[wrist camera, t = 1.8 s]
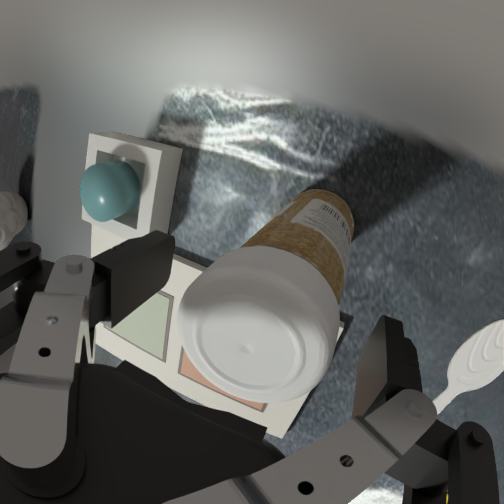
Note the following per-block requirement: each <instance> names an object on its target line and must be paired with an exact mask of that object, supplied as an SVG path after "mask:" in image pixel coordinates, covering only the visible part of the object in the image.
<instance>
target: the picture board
mask: <svg viewBox="0 0 504 504" xmlns="http://www.w3.org/2000/svg"><path fill="white" fill-rule="evenodd" d="M124 241H126V239H124V238H122V237H119V236H117V235H115V234H113V233H111V232H109V231H106V230H104V229H102V228H100V227H98V226H96V225H93V224H92V238H91V258H92V257H94V256H96V255H98V254H100V253H102V252H104V251H106V250H108V249H110V248H111V249H112V247H114V246H116V245H120V243H122V242H124ZM206 269H207V267H204V266H202V265H200V264H197V263H195V262H193V261H190V260H188V259H185V258H183V257H181V256H178V255H176V254H173V261H172V268H171V274H170V278H169V280H168V282H167V284H166V285H165V286H164V287H163V288H162V289H161V290H160V291H158V292H157V293H156V294H155V295H153V296H152V297H151V298H149V299H148V300H147V301H146V302H144V303H143V304H142V305H141V306H139V307H138V308H137V309H136V310H134V311H133V312H132V313H131V314H129V315H128V316H127V317H126V318H124V319H123V320H122V321H121V322H119V323H118V324H117V325H116V326H114V327H113V328H112V329H111V328H109V327H107V326H106V325H104V324H102V323H101V322H99V323H98V324H97V325H96V341H95V343H96V344H98V345H99V346H101V347H102V348H104V349H105V350H107V351H109V352H110V353H112V354H113V355H115V356H116V357H118V358H120V359H121V360H123V361H124V360H126V361H128V362H130V363H132V364H133V365H135V366H137V367H139V368H141V369H142V370H144V371H146V372H148V373H150V374H152V375H153V376H155V377H157V378H158V379H159V380H160V381H161V382H163V383H164V384H165V385H166V386H168V387H170V388H172V389H174V390H176V391H177V392H179V393H181V394H183V395H185V396H187V397H189V398H191V399H193V400H195V401H197V402H199V403H201V404H203V405H205V406H207V407H209V408H213V409H217V410H222V411H226V412H230V413H233V414H235V415H237V416H240V417H242V418H245V419H247V420H250V421H252V422H255V423H257V424H260V425H262V426H265V427H268V428H267V431H266V433H269V434H271V435H274V436H277V437H279V438H283V436H284V434H285V433H286V431H287V430H288V428H289V426H290V425H291V423H292V421H293V420H294V418H295V417H296V415H297V413H298V411H299V410H300V408H301V406H302V405H303V403H304V401H305V400H306V398H307V396H308V394H309V393H310V392H308V393H306V394H304V395H303V396H301V397H298V398H296V399H293V400H290V401H285V402H279V403H258V402H253V401H248V400H244V399H241V398H238V397H236V396H233V395H231V394H229V393H227V392H225V391H223V390H221V389H220V388H218V387H217V386H215V385H214V384H212V383H211V382H210V381H209V380H207V379H206V378H205V377H204V376H203V375H202V374H201V373H200V372H199V371H198V370H197V369H196V367H195V366H194V365H193V364H192V362H191V361H190V359H189V358H188V356H187V354H186V352H185V350H184V348H183V346H182V344H181V341H180V337H179V333H178V326H177V315H178V309H179V305H180V302H181V299H182V297H183V295H184V293H185V291H186V290H187V288H188V287H189V285H190V284H191V283H192V282H193V281H194V280H195V279H196V278H197V277H198V276H199V275H200V274H201V273H202V272H204V271H205V270H206ZM344 323H345V322H342V321H340V325H339V332H338V337H337V341H338V339H339V337H340V335H341V333H342V331H343V329H344Z"/></svg>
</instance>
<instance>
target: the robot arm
mask: <svg viewBox="0 0 504 504" xmlns="http://www.w3.org/2000/svg"><path fill="white" fill-rule="evenodd" d="M174 247H175V238H174V236H172V235H169V234H166V233H164V232H161V231H159V230H154V231H152V232H150V233H148V234H146V235H144V236H142V237H137V238H132V239H128V240H126V241H124V242H122V243H120V245H116V246H114V247H112V249H111V248H110V249H108V250H106V251H104V252H102V253H100V254H98V255H96V256H94V257H92V258H91V259H89V258H87V257H85V256H81V255H68V256H64V257H61V258H60V259H58V260H57V261H56V262H55V263H54V262H50V261H46V260H43V259H42V255H41V247H40V246H39V245H38V244H36V243H33V242H19V243H16V244H13V245H11V246H9V247H7V248H5V249H3V250H1V251H0V292H1V291H3V290H5V289H6V288H8V287H10V286H11V289H12V295H13V301H12V302H11V303H9V304H8V305H6V306H5V307H3V308H2V309H1V310H0V355H1V354H3V353H4V352H5V351H6V350H8V349H9V348H10V347H11V346H13V345H14V344H15V343H17V345H16V348H15V351H14V355H13V358H12V362H11V365H10V369H9V372H8V373H1V374H0V504H348V503H349V502H350V501H351V500H353V499H354V498H355V497H356V496H358V495H359V494H360V493H361V492H363V491H364V490H365V489H366V488H367V487H369V486H370V485H371V484H372V483H373V482H374V481H376V480H377V479H378V478H379V477H380V476H381V475H382V474H383V473H386V474H388V475H389V476H391V477H393V478H395V479H397V480H399V481H400V482H402V483H404V484H405V485H404V494H403V502H402V504H446V502H447V490H448V502H447V504H500V503H499V490H498V480H497V471H496V463H495V456H494V450H493V443H492V439H491V437H490V435H489V433H488V432H487V431H486V430H485V429H484V428H483V427H482V426H481V425H479V424H477V423H475V422H471V421H468V422H464V423H463V424H461V425H460V426H459V427H458V429H457V430H455V429H453V428H451V427H449V426H447V425H446V424H444V423H442V422H440V421H439V420H437V419H436V418H437V410H436V407H435V405H434V403H433V402H432V400H431V399H430V398H429V397H428V396H426V395H425V394H423V391H422V383H421V376H420V369H419V363H418V361H417V360H418V356H417V350H416V348H415V346H414V345H413V343H412V341H411V340H410V339H409V338H406V337H404V331H403V324H402V321H399V320H396V319H393V318H391V317H388V316H385V315H382V316H381V317H380V319H379V320H378V322H377V324H376V326H375V328H374V330H373V332H372V334H371V336H370V337H369V339H368V341H367V343H366V345H365V347H364V349H363V351H362V353H361V355H360V358H359V362H358V369H357V379H356V389H355V397H354V406H353V413H352V419H351V420H350V421H348V422H347V423H345V424H343V425H342V426H340V427H339V428H337V429H335V430H334V431H332V432H330V433H329V434H327V435H325V436H324V437H322V438H320V439H319V440H317V441H315V442H313V443H312V444H310V445H308V446H306V447H305V448H303V449H301V450H299V451H297V452H295V453H294V454H292V455H290V456H288V457H285V456H284V455H283V454H282V453H281V452H280V451H279V450H278V449H277V448H276V447H275V446H274V445H272V444H271V443H270V442H268V441H267V440H265V439H264V436H265V433H266V431H267V428H268V427H265V426H262V425H260V424H257V423H255V422H252V421H250V420H247V419H245V418H242V417H240V416H237V415H235V414H233V413H230V412H226V411H222V410H217V409H213V408H209V407H204V406H200V405H196V404H192V403H189V402H187V401H185V400H183V399H182V398H181V397H180V396H178V395H177V394H176V393H175V392H173V391H172V390H171V389H170V388H169V387H167V386H166V385H165V384H164V383H163V382H161V381H160V380H159V379H158V378H157V377H155V376H153V375H152V374H150V373H148V372H146V371H144V370H142V369H141V368H139V367H137V366H135V365H133V364H132V363H130V362H128V361H126V360H124V361H123V362H122V363H121V364H120V365H119V366H118V367H117V368H116V367H112V366H108V365H103V364H94V355H95V341H96V325H97V324H98V323H99V322H101V323H102V324H104V325H106V326H107V327H109V328H111V329H112V328H113V327H114V326H116V325H117V324H118V323H119V322H121V321H122V320H123V319H124V318H126V317H127V316H128V315H129V314H131V313H132V312H133V311H134V310H136V309H137V308H138V307H139V306H141V305H142V304H143V303H144V302H146V301H147V300H148V299H149V298H151V297H152V296H153V295H155V294H156V293H157V292H158V291H160V290H161V289H162V288H163V287H164V286H165V285H166V284H167V282H168V280H169V278H170V274H171V268H172V261H173V254H174Z"/></svg>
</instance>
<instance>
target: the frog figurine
mask: <svg viewBox="0 0 504 504" xmlns="http://www.w3.org/2000/svg"><path fill="white" fill-rule="evenodd" d="M27 217H28V209H27V205H26V203H25V201H24V199H23V198H22V197H21V196H20V195H18V194H17V193H14V192H0V251H1V250H3V249H5V248H6V247H7V246H8V245H9V244H10V242H11V240H12V239H13V236H14V235H16V234H18V233H19V232H20V231H21V230H22V229H23V228H24V226H25V224H26V221H27Z"/></svg>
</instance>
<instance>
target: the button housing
mask: <svg viewBox="0 0 504 504" xmlns="http://www.w3.org/2000/svg"><path fill="white" fill-rule="evenodd" d="M182 151H183V149H182V148H178V147H175V146H171V145H167V144H163V143H159V142H155V141H151V140H147V139H142V138H138V137H134V136H130V135H125V134H121V133H116V132H100V133H90V134H89V142H88V150H87V158H86V167H85V170H86V169H87V168H88V167H90V166H91V165H94V164H100V163H105V162H111V161H117V160H120V161H124V162H126V163H128V164H129V165H130V166H131V167H132V168H133V169H134V171H135V172H136V174H137V176H138V179H139V183H140V197H139V201H138V203H137V205H136V207H135V208H134V209H133V210H132V211H131V212H130V213H127V214H125V215H122V216H119V217H117V218H114V219H112V220H109V221H106V222H99V221H96V220H94V219H93V218H92V217H91V216H89V214H88V213H87V212H86V210H85V208H84V206H83V205H82V219H83V220H85V221H87V222H89V223H91V224H93V225H96V226H98V227H100V228H102V229H104V230H106V231H109V232H111V233H113V234H115V235H117V236H119V237H122V238H124V239H126V240H128V239H132V238H137V237H142V236H144V235H146V234H148V233H150V232H152V231H154V230H159V231H161V232H164V233H166V234H168V228H169V222H170V216H171V210H172V204H173V198H174V192H175V187H176V181H177V176H178V171H179V166H180V161H181V156H182Z"/></svg>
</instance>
